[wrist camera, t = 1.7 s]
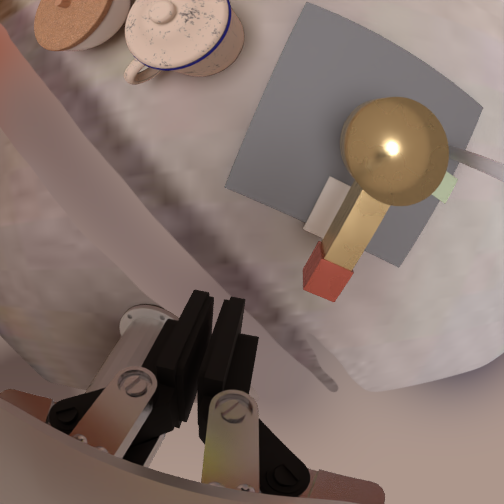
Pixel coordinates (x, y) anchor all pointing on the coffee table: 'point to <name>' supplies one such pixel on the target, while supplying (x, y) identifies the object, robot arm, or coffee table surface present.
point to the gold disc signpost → (377, 182)
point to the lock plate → (332, 120)
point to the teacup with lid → (181, 37)
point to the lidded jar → (78, 23)
